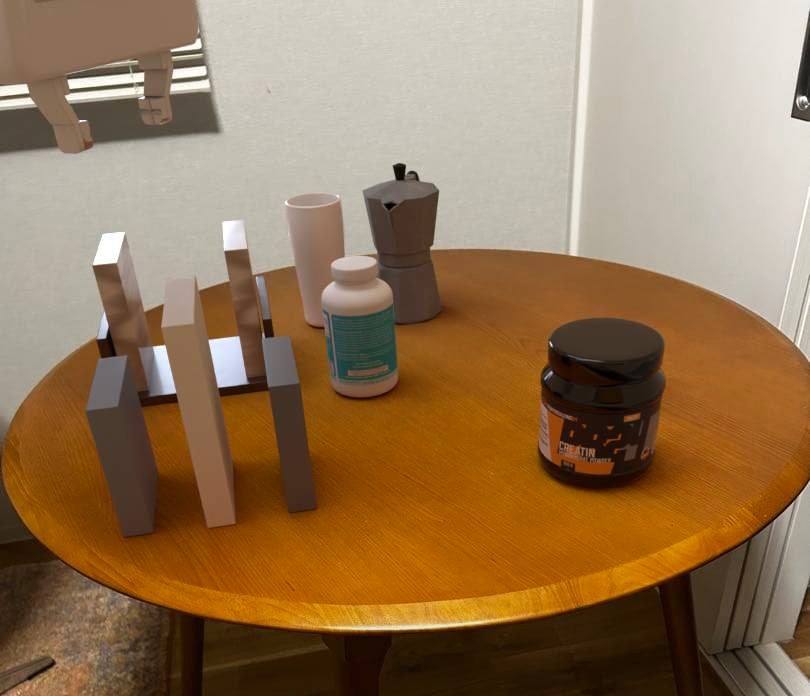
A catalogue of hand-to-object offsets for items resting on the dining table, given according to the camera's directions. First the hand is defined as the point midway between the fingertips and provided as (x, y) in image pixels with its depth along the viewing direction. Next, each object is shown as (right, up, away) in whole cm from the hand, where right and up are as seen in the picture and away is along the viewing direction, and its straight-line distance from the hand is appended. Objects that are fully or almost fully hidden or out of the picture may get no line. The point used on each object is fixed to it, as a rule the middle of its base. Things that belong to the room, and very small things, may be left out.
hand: (120, 136), depth 60 cm
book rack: (-3, -9, +38) cm, 39 cm away
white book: (+4, -24, +16) cm, 30 cm away
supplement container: (+38, -22, +17) cm, 47 cm away
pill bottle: (+16, -12, +33) cm, 38 cm away
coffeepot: (+21, +2, +51) cm, 55 cm away
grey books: (+4, -24, +16) cm, 30 cm away
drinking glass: (+10, -1, +48) cm, 50 cm away
